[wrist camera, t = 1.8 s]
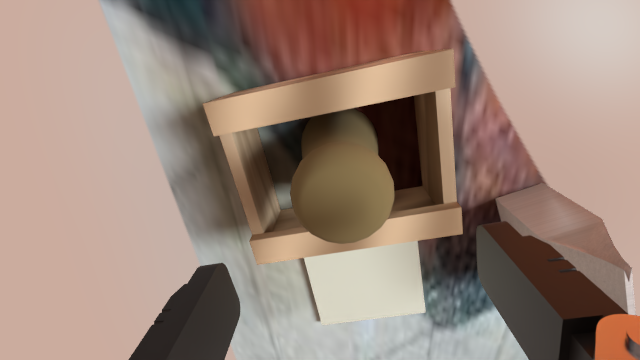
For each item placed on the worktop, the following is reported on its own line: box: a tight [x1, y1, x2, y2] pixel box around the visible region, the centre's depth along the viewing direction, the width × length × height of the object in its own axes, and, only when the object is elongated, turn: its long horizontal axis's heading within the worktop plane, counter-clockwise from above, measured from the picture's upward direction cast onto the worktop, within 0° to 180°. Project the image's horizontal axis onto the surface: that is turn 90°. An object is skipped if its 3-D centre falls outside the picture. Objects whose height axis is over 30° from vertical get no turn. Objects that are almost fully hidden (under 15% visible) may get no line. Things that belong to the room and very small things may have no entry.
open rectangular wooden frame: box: [203, 49, 463, 265], centre depth 21 cm, size 14×11×6 cm
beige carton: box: [495, 183, 636, 315], centre depth 22 cm, size 4×7×10 cm, turn 23°
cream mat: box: [304, 241, 425, 325], centre depth 28 cm, size 10×10×1 cm
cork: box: [290, 108, 395, 244], centre depth 19 cm, size 6×6×11 cm
